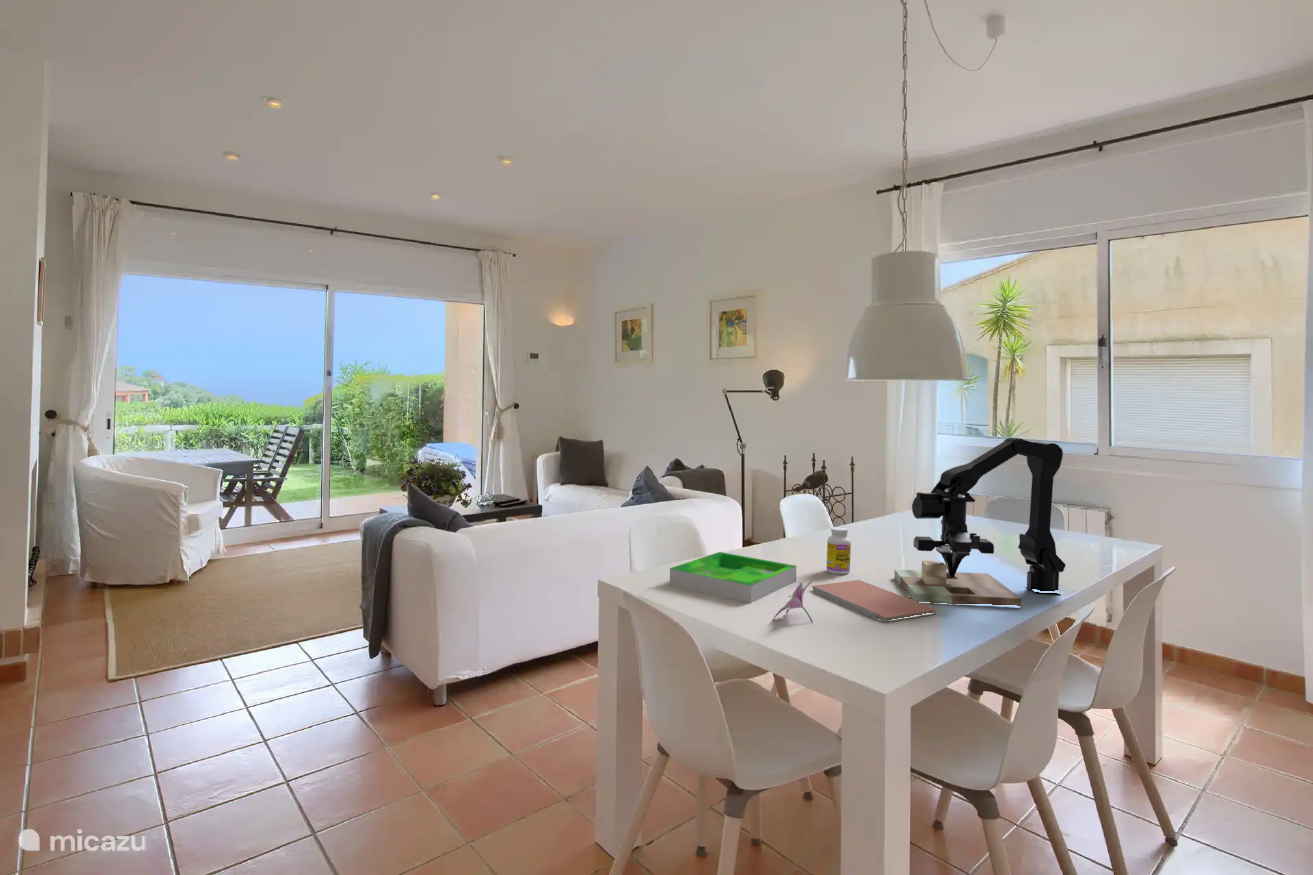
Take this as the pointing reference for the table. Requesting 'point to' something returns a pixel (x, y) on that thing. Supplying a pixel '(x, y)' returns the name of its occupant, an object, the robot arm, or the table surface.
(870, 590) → the notebook
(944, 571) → the block
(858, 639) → the table surface
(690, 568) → the tray
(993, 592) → the trap deck
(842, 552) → the supplement bottle
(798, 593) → the lily
